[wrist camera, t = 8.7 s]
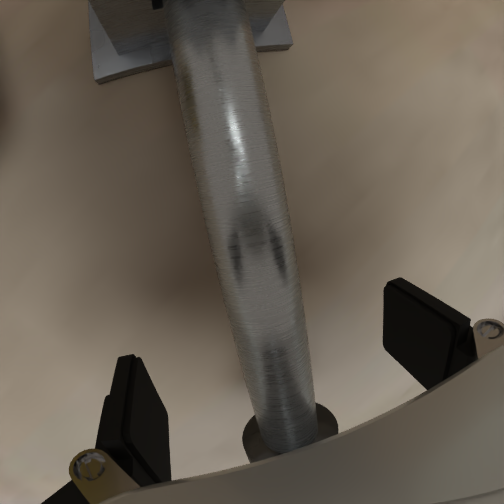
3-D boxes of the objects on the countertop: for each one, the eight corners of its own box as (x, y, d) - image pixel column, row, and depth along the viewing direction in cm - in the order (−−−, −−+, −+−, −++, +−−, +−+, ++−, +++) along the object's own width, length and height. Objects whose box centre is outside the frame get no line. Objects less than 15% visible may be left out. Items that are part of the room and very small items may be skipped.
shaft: (132, -64, 8) (124, -123, 4) (227, -76, 9) (245, -134, 4) (242, 435, 16) (261, 499, 12) (319, 411, 17) (352, 467, 12)
